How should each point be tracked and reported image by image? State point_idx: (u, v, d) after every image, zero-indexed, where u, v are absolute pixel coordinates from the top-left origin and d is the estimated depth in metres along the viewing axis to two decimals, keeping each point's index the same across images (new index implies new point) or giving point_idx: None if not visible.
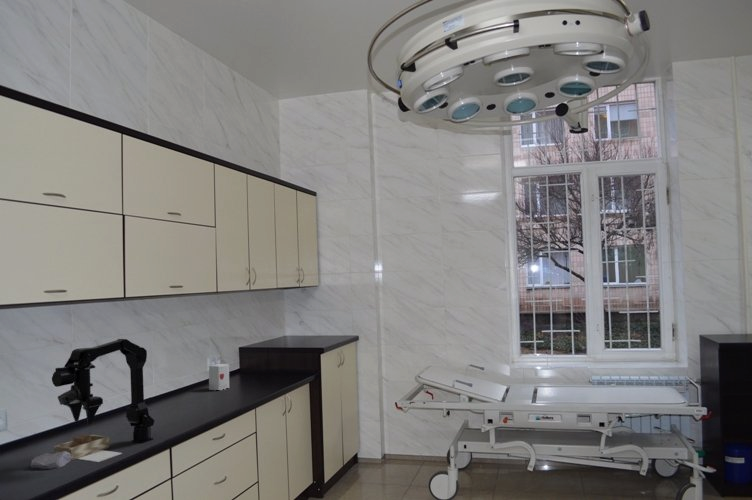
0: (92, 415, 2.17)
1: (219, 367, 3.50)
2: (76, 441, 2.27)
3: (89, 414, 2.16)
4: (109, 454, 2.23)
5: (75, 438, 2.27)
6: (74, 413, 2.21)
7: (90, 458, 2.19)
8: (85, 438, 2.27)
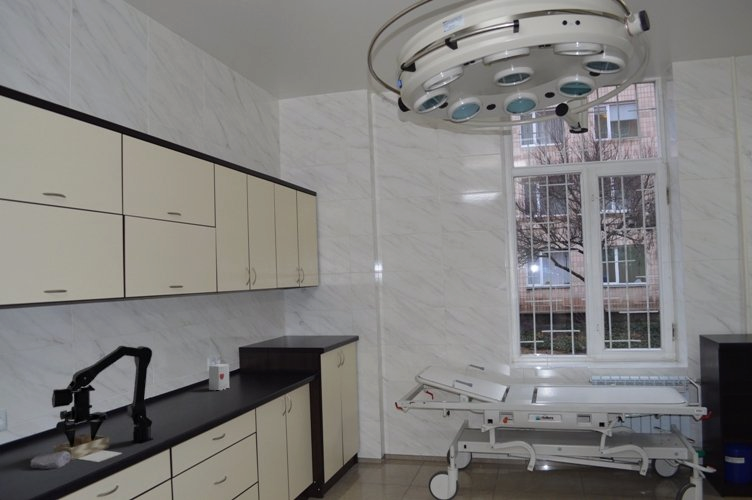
0: (70, 438, 2.23)
1: (219, 367, 3.50)
2: (76, 441, 2.27)
3: (67, 436, 2.23)
4: (109, 454, 2.23)
5: (75, 438, 2.27)
6: (91, 431, 2.33)
7: (90, 458, 2.19)
8: (85, 438, 2.27)
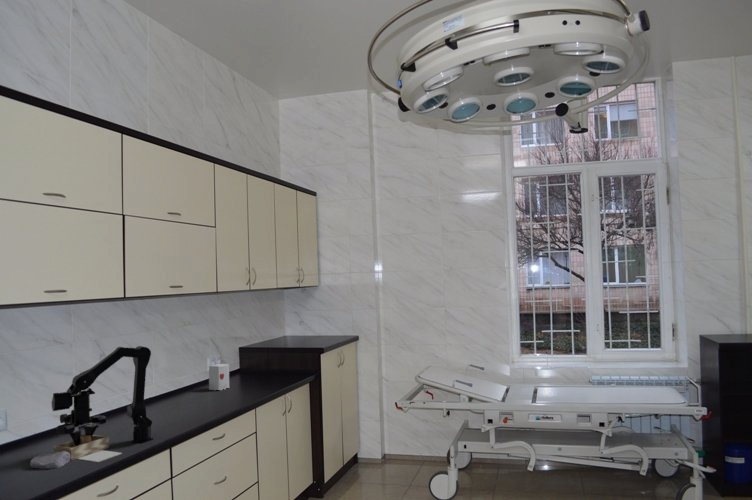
0: (75, 440, 2.25)
1: (219, 367, 3.50)
2: None
3: (73, 438, 2.26)
4: (109, 454, 2.23)
5: None
6: None
7: (90, 458, 2.19)
8: (85, 438, 2.27)
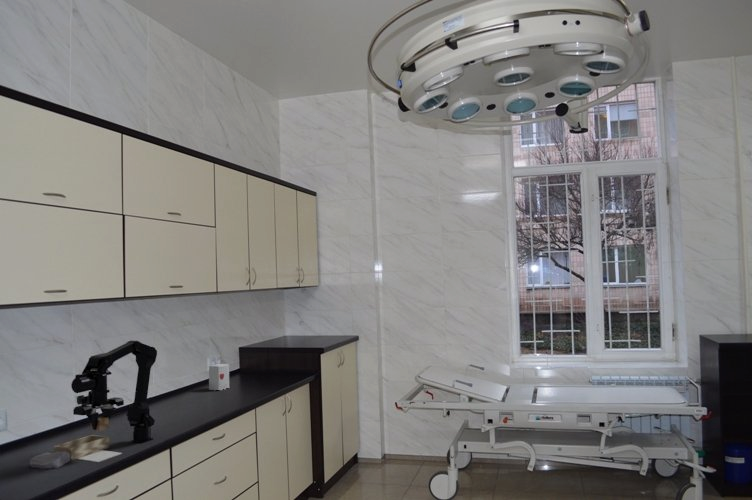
0: (93, 422, 2.20)
1: (219, 367, 3.50)
2: None
3: (90, 420, 2.20)
4: (109, 454, 2.23)
5: None
6: None
7: (90, 458, 2.19)
8: (103, 420, 2.22)
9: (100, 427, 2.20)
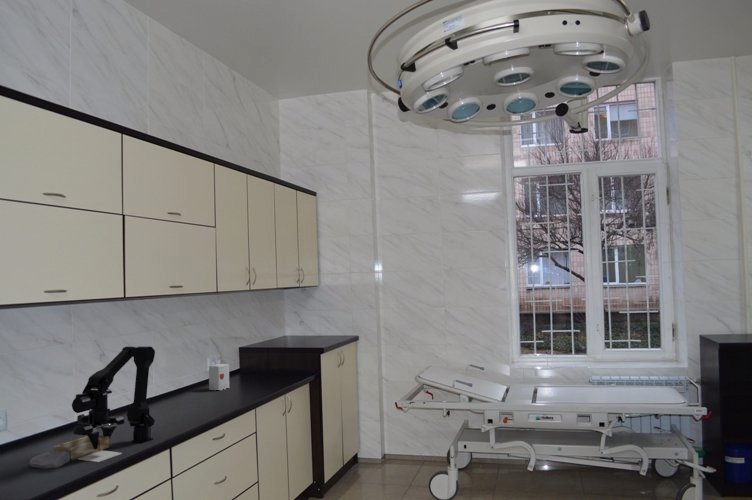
0: (93, 441, 2.19)
1: (219, 367, 3.50)
2: None
3: (91, 439, 2.20)
4: (109, 454, 2.23)
5: None
6: None
7: (90, 458, 2.19)
8: (103, 439, 2.21)
9: (101, 446, 2.20)
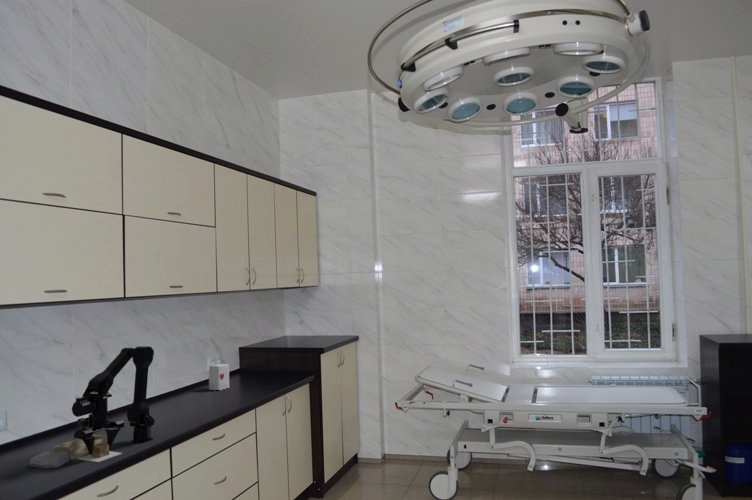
0: (89, 446, 2.18)
1: (219, 367, 3.50)
2: (94, 450, 2.21)
3: (86, 444, 2.18)
4: (109, 454, 2.23)
5: None
6: (107, 439, 2.27)
7: (90, 458, 2.19)
8: (103, 447, 2.21)
9: (101, 454, 2.20)
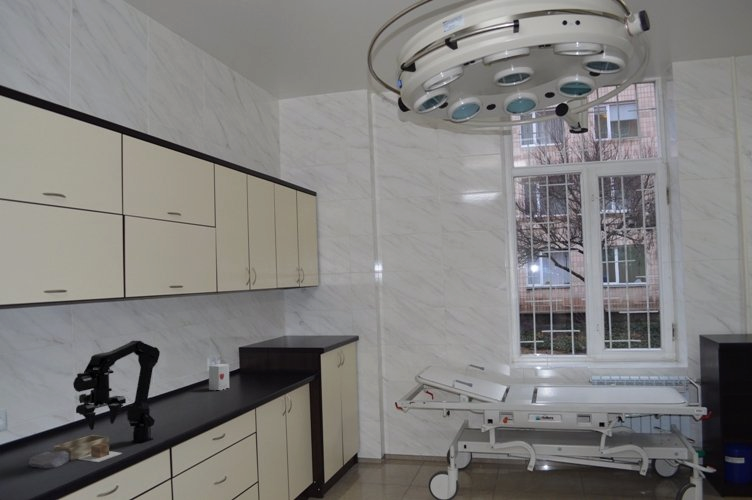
0: (90, 422, 2.19)
1: (219, 367, 3.50)
2: (94, 450, 2.21)
3: (87, 420, 2.20)
4: (109, 454, 2.23)
5: (93, 447, 2.21)
6: (110, 415, 2.29)
7: (90, 458, 2.19)
8: (103, 447, 2.21)
9: (101, 454, 2.20)
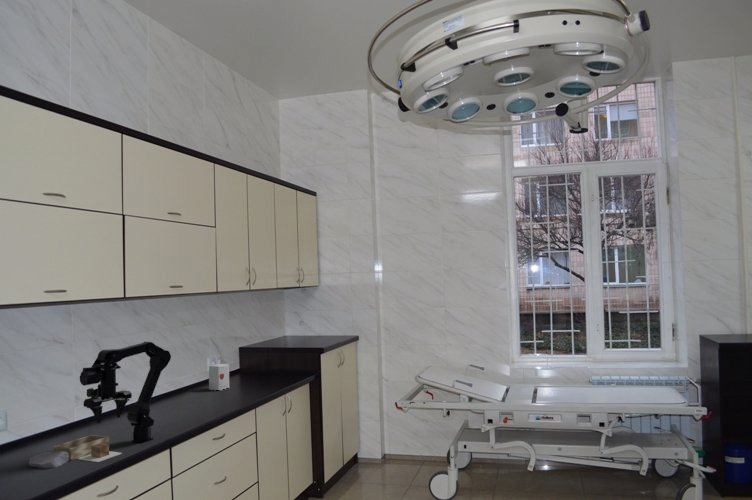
0: (97, 415, 2.25)
1: (219, 367, 3.50)
2: (94, 450, 2.21)
3: (94, 413, 2.26)
4: (109, 454, 2.23)
5: (93, 447, 2.21)
6: (116, 409, 2.35)
7: (90, 458, 2.19)
8: (103, 447, 2.21)
9: (101, 454, 2.20)
